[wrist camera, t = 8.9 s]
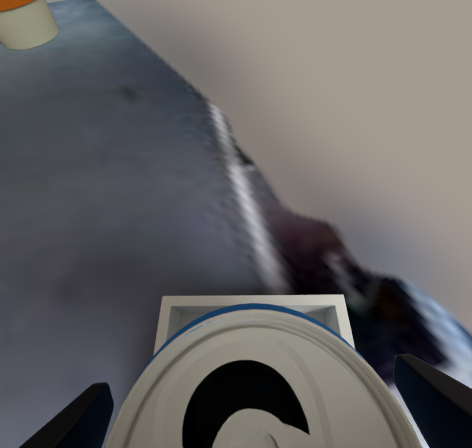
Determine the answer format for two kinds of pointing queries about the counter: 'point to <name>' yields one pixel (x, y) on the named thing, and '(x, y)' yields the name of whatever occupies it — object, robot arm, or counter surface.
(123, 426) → the beverage can
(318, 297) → the white rectangular tray
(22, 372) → the counter surface
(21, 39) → the reusable coffee cup
